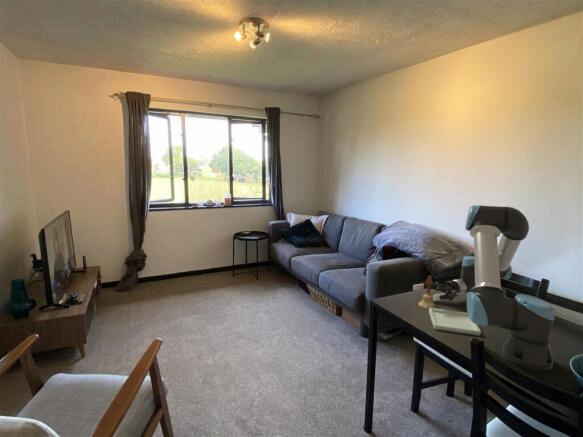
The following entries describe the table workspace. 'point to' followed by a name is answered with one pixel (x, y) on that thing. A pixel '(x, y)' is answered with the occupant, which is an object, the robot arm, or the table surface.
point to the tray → (453, 321)
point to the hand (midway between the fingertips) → (423, 292)
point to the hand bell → (427, 296)
